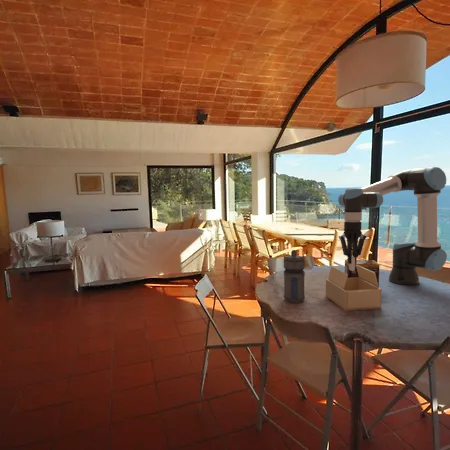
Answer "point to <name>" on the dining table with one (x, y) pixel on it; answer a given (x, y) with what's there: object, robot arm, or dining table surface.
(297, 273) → the beverage bottle
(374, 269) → the supplement box
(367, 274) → the flap
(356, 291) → the carton
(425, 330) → the dining table surface
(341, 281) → the flap
